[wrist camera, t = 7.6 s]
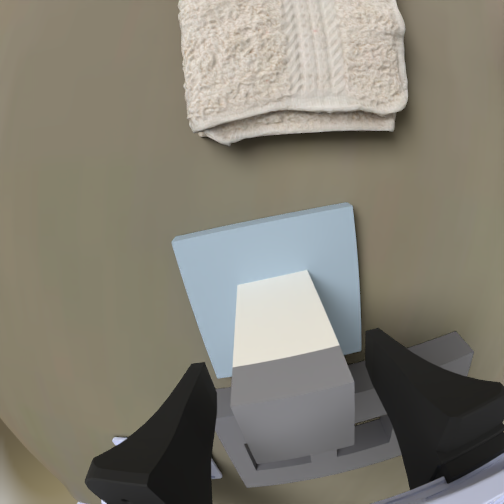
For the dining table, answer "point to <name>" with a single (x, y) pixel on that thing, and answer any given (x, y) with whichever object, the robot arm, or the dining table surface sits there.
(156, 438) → the robot arm
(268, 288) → the plug
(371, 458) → the gray socket board
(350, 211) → the pad
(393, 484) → the dining table surface
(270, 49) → the washcloth
